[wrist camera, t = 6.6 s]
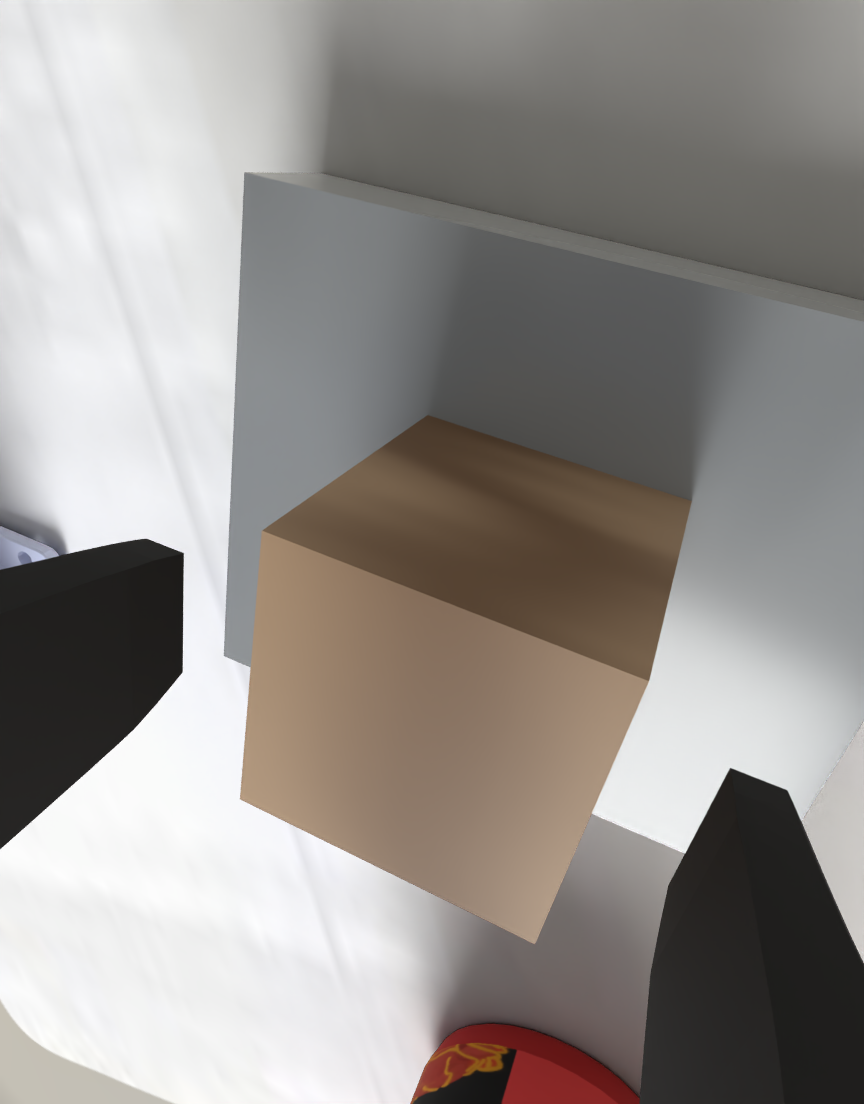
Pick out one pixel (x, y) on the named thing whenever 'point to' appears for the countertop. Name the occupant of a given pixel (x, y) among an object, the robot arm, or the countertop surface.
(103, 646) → the robot arm
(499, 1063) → the canned food
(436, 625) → the light brown rectangular block
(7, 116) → the countertop surface
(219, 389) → the countertop surface
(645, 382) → the slate base
